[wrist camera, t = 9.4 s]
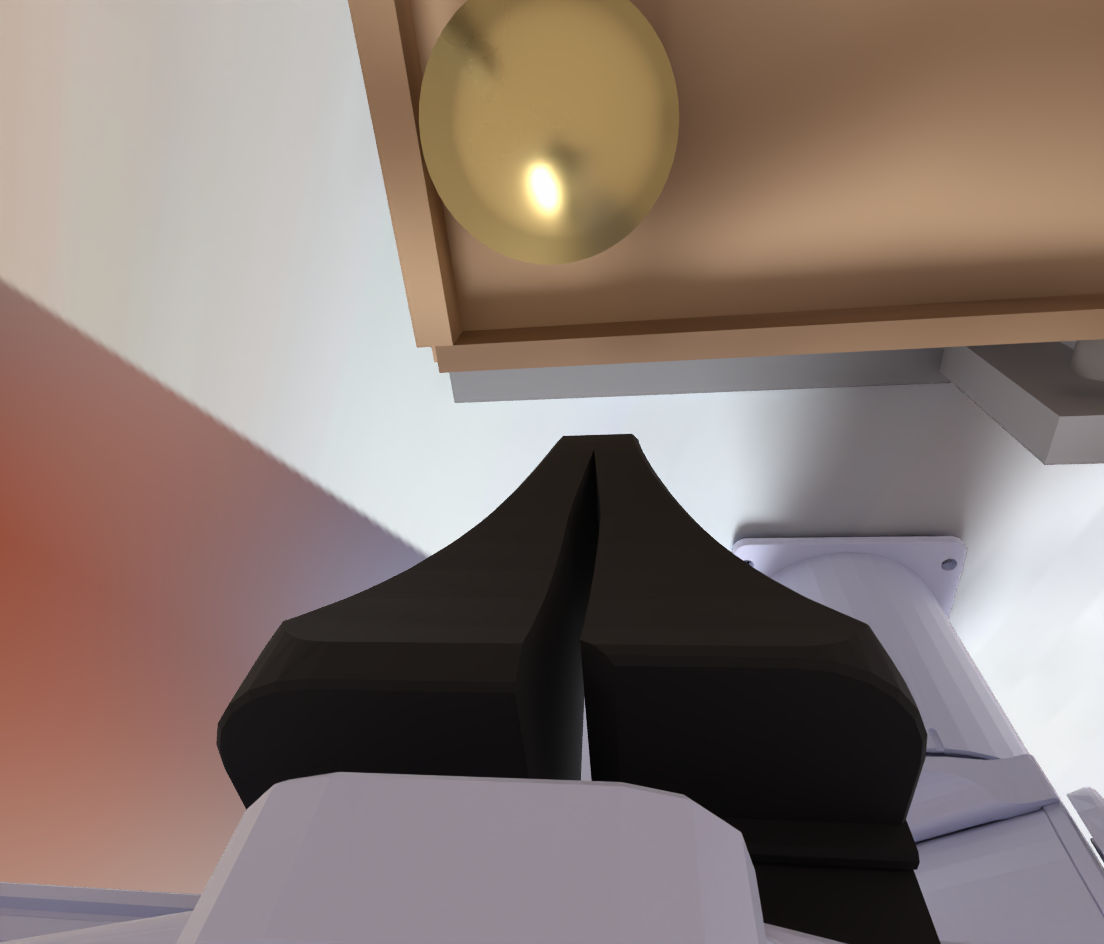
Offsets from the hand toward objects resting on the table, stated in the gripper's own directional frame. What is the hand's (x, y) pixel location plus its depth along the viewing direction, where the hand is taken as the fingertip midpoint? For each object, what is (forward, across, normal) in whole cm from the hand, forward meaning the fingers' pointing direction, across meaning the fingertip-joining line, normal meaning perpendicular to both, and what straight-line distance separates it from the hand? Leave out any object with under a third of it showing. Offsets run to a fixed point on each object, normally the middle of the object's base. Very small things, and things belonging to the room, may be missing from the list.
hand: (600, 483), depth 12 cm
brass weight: (+4, +1, -6) cm, 7 cm away
